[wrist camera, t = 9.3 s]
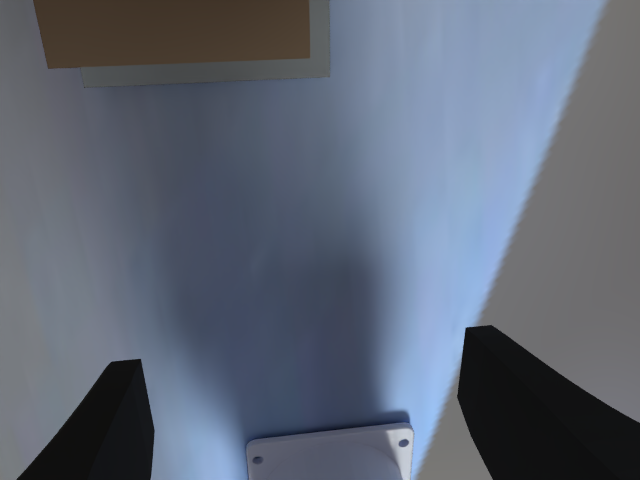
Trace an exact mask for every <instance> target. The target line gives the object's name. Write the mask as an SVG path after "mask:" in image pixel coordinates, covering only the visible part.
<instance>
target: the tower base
mask: <svg viewBox="0 0 640 480" xmlns="http://www.w3.org/2000/svg"><path fill="white" fill-rule="evenodd" d="M309 13H310V58H308V59H282V60H256V61H231V62H205V63H179V64H154V65H128V66H102V67H80V69H81V74H82V79H83V84H84V88H89V87H112V86H136V85H159V84H182V83H205V82H228V81H251V80H274V79H297V78H320V77H330V18H329V0H309Z"/></svg>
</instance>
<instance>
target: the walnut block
mask: <svg viewBox="0 0 640 480" xmlns="http://www.w3.org/2000/svg"><path fill="white" fill-rule="evenodd" d="M33 2H34V6H35V11H36V15H37V20H38V24H39V29H40V34H41V38H42V43H43V47H44V52H45V56H46V61H47V65H48V69H51V68H77V67H102V66H128V65H154V64H179V63H205V62H231V61H256V60H282V59H308V58H310V13H309V0H33Z"/></svg>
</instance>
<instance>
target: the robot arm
mask: <svg viewBox="0 0 640 480" xmlns="http://www.w3.org/2000/svg"><path fill="white" fill-rule="evenodd" d="M457 398H458V401H459V404H460V406H461V409H462V412H463V415H464V418H465V421H466V423H467V426H468V429H469V432H470V434H471V437H472V439H473V441H474V443H475V445H476V447H477V449H478V451H479V453H480V455H481V457H482V459H483V461H484V463H485V465H486V467H487V469H488V471H489V473H490V475H491V477H492V479H493V480H640V423H639V422H637V421H635V420H633V419H631V418H629V417H628V416H626V415H624V414H622V413H620V412H619V411H617V410H615V409H614V408H612V407H610V406H609V405H607V404H605V403H604V402H602V401H601V400H599V399H597V398H596V397H594V396H593V395H591V394H589V393H588V392H586V391H585V390H583V389H581V388H580V387H579V386H577V385H575V384H574V383H572V382H571V381H569V380H568V379H567V378H565V377H564V376H562V375H561V374H559V373H558V372H556V371H555V370H554V369H552V368H550V367H549V366H548V365H546V364H545V363H544V362H542V361H541V360H539V359H538V358H537V357H535V356H534V355H533V354H531V353H530V352H528V351H527V350H526V349H524V348H523V347H522V346H520V345H519V344H517V343H516V342H514V341H513V340H512V339H511V338H509V337H508V336H506V335H505V334H503V333H502V332H501V331H499V330H498V329H496V328H495V327H493V326H492V325H488V326H478V327H467V328H466V330H465V338H464V346H463V354H462V362H461V370H460V379H459V387H458V395H457ZM403 439H405V440H403ZM401 440H403V441H401ZM413 442H414V430H413V428H412V426H411V425H410V424H409V423H404V422H402V423H393V424H385V425H376V426H367V427H359V428H350V429H341V430H332V431H324V432H315V433H306V434H297V435H289V436H280V437H271V438H262V439H255V440H252V441H250V442H249V443H248V444H247V447H246V454H247V464H248V475H249V480H410V479H411V466H412V454H413ZM153 445H154V425H153V420H152V415H151V410H150V404H149V399H148V394H147V389H146V384H145V378H144V373H143V368H142V363H141V359H135V360H124V361H114V362H111V363H110V364H109V365H108V366H107V367H106V368H105V370H104V371H103V373H102V374H101V375H100V377H99V378H98V380H97V381H96V382H95V384H94V385H93V387H92V388H91V389H90V391H89V392H88V394H87V395H86V396H85V398H84V399H83V400H82V402H81V403H80V404H79V406H78V407H77V408H76V410H75V411H74V412H73V413H72V415H71V416H70V417H69V419H68V420H67V421H66V422H65V424H64V425H63V426H62V427H61V429H60V430H59V431H58V433H57V434H56V435H55V436H54V437H53V439H52V440H51V441H50V442H49V443H48V445H47V446H46V447H45V448H44V449H43V450H42V451H41V453H40V454H39V455H38V456H37V457H36V458H35V460H34V461H33V462H32V463H31V464H30V465H29V466H28V468H27V469H26V470H25V471H24V472H23V473H22V474H21V475H20V476H19V477H18V478H17V479H16V480H150V478H151V470H152V459H153ZM257 456H260V457H259V458H255V457H257Z"/></svg>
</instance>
